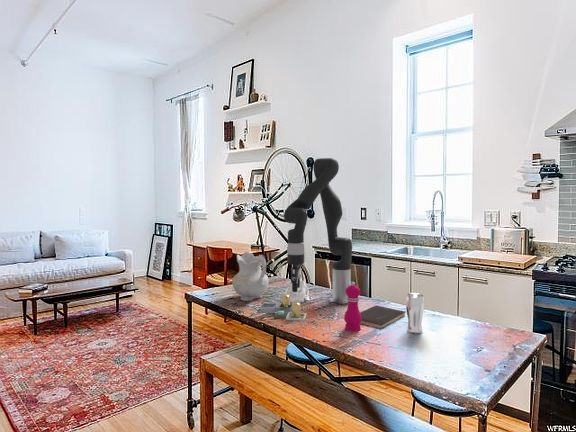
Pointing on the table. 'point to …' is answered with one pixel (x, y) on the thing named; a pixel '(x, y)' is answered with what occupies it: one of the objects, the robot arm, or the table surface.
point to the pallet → (274, 308)
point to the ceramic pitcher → (250, 277)
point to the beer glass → (415, 312)
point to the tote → (296, 318)
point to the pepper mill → (352, 308)
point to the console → (280, 315)
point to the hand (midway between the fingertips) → (296, 289)
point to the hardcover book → (380, 316)
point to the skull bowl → (298, 293)
